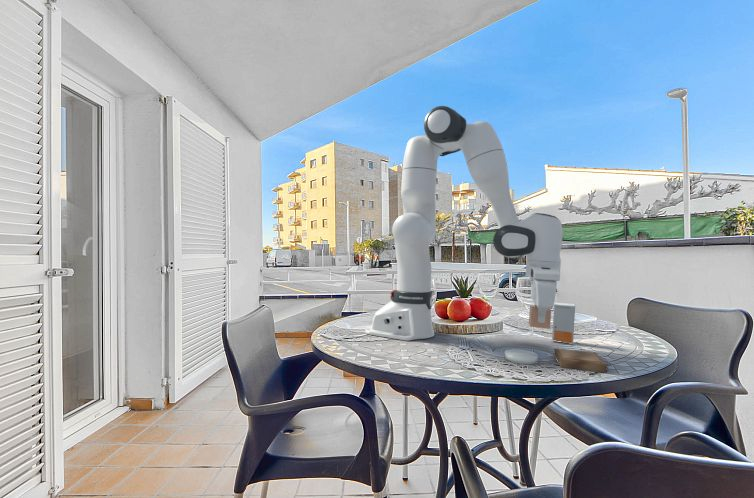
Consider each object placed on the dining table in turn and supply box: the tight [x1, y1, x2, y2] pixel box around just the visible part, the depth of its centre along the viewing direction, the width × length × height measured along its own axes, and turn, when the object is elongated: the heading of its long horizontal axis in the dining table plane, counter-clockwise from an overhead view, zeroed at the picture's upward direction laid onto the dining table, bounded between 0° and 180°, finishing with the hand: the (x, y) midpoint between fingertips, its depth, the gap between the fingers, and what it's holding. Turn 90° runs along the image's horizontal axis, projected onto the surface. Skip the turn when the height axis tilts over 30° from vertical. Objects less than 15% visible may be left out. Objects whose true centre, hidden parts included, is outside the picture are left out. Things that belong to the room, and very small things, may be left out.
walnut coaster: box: [553, 348, 608, 373], centre depth 95 cm, size 10×10×2 cm
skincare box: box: [551, 302, 576, 346], centre depth 116 cm, size 6×4×12 cm
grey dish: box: [504, 348, 538, 365], centre depth 97 cm, size 8×8×2 cm
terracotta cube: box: [528, 305, 552, 330], centre depth 105 cm, size 5×5×5 cm
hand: (539, 319), depth 105 cm, fingers closed on terracotta cube, 5 cm apart
